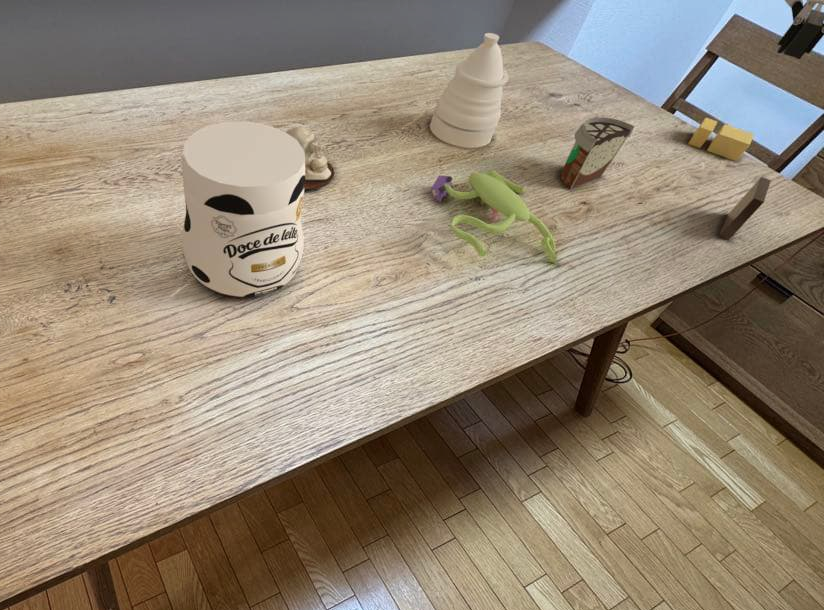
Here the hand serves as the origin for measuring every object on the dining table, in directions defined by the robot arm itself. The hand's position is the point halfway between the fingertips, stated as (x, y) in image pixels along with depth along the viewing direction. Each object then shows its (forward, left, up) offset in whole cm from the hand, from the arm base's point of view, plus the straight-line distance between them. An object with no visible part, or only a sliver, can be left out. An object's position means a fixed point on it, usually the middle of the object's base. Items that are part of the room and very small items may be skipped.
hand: (789, 52), depth 89 cm
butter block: (-3, -11, -21) cm, 24 cm away
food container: (+19, +24, -21) cm, 37 cm away
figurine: (+25, +51, -21) cm, 61 cm away
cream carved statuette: (+58, +61, -21) cm, 87 cm away
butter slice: (+3, -11, -21) cm, 24 cm away
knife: (0, -4, +1) cm, 4 cm away
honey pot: (+43, +25, -21) cm, 54 cm away
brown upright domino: (-9, +20, -21) cm, 30 cm away
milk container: (+49, +88, -21) cm, 103 cm away
